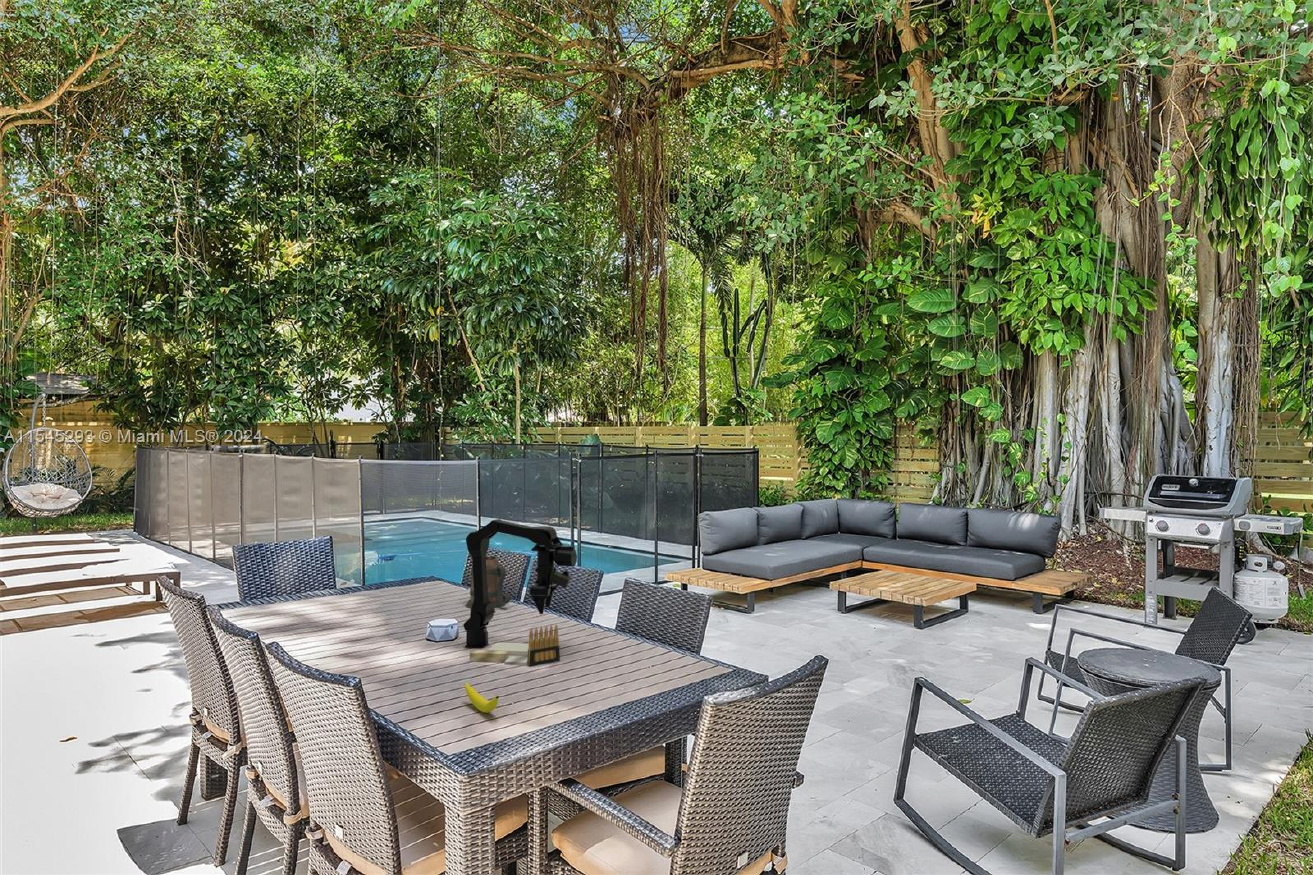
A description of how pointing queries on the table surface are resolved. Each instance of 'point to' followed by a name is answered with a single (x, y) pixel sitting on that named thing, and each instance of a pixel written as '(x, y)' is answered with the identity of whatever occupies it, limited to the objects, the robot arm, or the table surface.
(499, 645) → the board
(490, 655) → the turner
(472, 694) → the banana
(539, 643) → the ammunition clip
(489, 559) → the tankard
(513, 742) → the table surface
